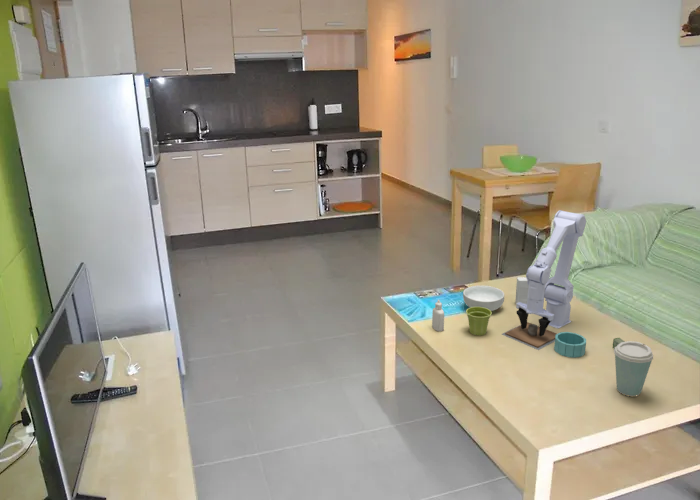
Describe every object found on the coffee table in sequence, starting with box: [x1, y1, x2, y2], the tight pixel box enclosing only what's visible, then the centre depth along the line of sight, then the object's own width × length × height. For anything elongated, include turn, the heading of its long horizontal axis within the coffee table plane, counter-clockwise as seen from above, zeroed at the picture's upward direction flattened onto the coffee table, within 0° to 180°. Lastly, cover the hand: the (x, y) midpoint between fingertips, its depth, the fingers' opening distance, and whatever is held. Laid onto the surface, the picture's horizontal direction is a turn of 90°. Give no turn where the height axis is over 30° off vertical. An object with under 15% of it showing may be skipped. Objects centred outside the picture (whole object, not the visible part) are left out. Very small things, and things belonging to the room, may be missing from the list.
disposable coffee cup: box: [613, 340, 654, 397], centre depth 166 cm, size 11×11×15 cm
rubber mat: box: [501, 324, 555, 351], centre depth 203 cm, size 16×16×1 cm
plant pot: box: [465, 307, 493, 336], centre depth 206 cm, size 9×9×9 cm
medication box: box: [612, 337, 626, 349], centre depth 188 cm, size 12×3×4 cm, turn 13°
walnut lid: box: [504, 321, 558, 348], centre depth 203 cm, size 14×14×4 cm
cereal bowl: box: [462, 285, 505, 312], centre depth 227 cm, size 17×17×7 cm
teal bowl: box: [553, 331, 587, 359], centre depth 191 cm, size 10×10×5 cm
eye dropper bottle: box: [431, 299, 445, 332], centre depth 209 cm, size 4×6×12 cm
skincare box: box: [514, 276, 529, 305], centre depth 228 cm, size 6×4×12 cm
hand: (532, 331), depth 203 cm, fingers open, 7 cm apart
